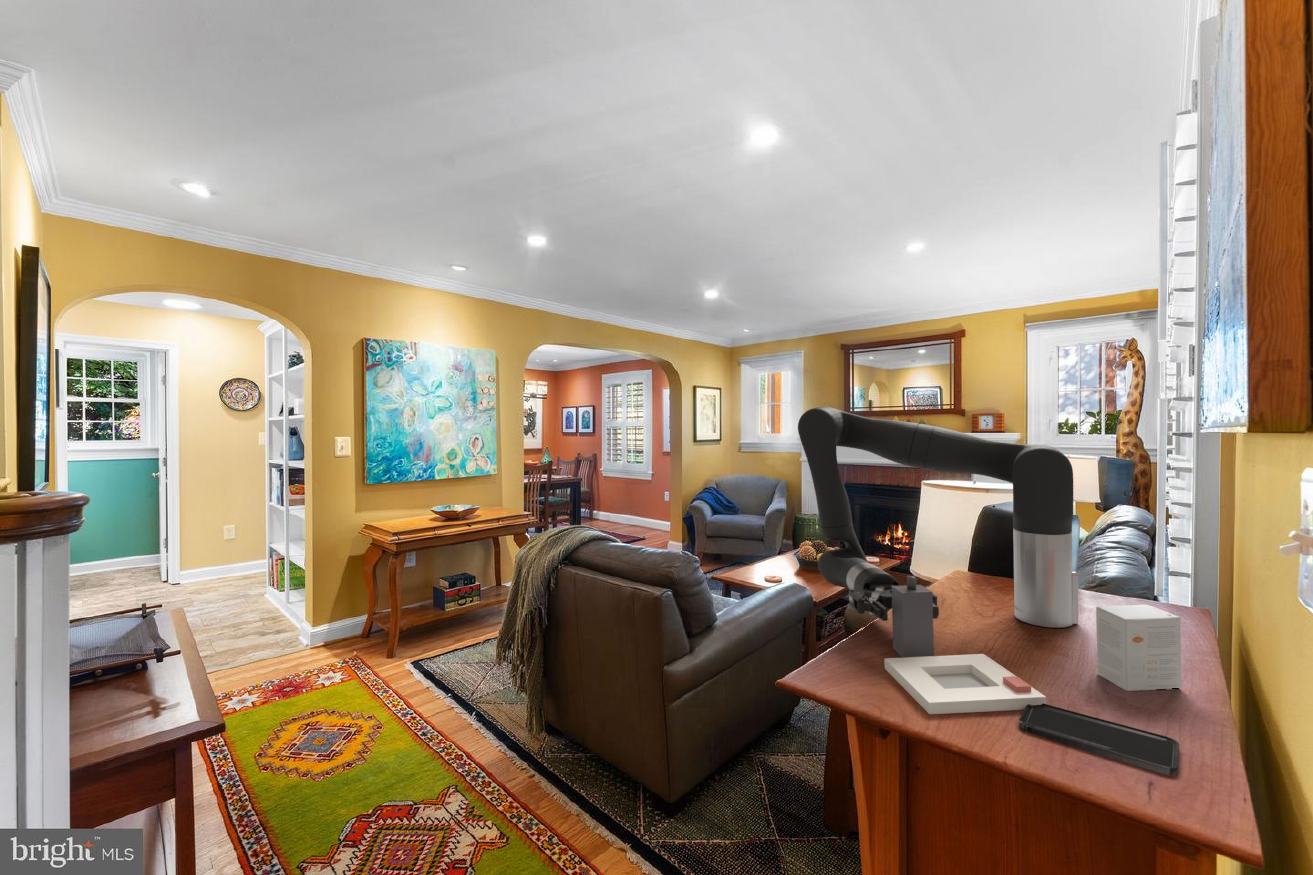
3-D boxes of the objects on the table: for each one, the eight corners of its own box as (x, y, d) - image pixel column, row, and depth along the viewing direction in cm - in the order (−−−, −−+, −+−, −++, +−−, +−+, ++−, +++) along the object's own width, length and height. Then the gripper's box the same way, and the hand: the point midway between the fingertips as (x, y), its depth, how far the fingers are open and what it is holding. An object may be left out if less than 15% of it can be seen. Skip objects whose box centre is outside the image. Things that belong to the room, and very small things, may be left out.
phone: (1030, 699, 77) (1179, 739, 67) (1030, 708, 77) (1179, 748, 67) (1016, 723, 72) (1177, 771, 61) (1016, 732, 72) (1177, 781, 61)
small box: (1148, 672, 85) (1148, 603, 85) (1182, 690, 80) (1182, 616, 79) (1095, 674, 85) (1094, 605, 85) (1125, 692, 80) (1125, 618, 80)
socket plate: (983, 663, 90) (983, 648, 90) (1046, 708, 76) (1046, 690, 76) (884, 668, 90) (884, 653, 90) (929, 714, 76) (929, 696, 76)
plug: (921, 647, 97) (920, 573, 97) (933, 657, 93) (932, 579, 93) (893, 649, 97) (891, 574, 96) (903, 659, 93) (902, 581, 92)
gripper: (835, 568, 111) (868, 593, 95) (907, 565, 111) (952, 590, 95) (836, 606, 111) (869, 637, 95) (908, 603, 112) (952, 634, 95)
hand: (910, 614), depth 95 cm, fingers open, 8 cm apart
